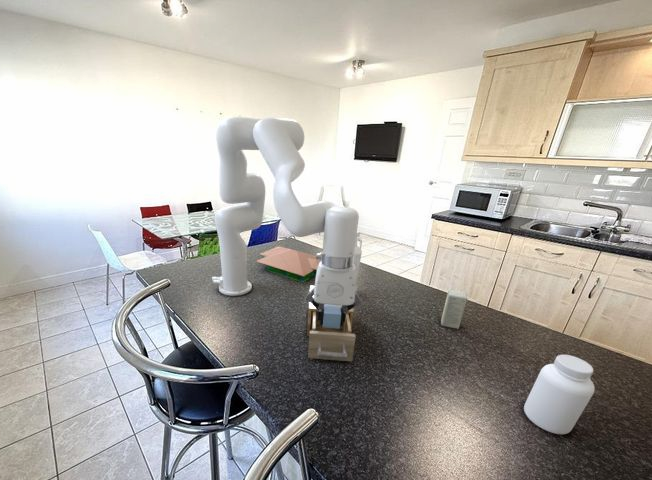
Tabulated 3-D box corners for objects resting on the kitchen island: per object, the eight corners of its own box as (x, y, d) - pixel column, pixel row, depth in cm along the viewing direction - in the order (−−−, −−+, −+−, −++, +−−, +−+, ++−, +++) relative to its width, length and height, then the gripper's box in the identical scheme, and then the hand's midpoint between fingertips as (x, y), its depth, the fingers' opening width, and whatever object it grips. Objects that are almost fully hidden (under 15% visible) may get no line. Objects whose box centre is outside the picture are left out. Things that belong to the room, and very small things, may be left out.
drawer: (354, 374, 72) (358, 348, 68) (307, 370, 73) (309, 345, 69) (347, 331, 88) (350, 308, 85) (309, 328, 89) (310, 306, 86)
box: (458, 322, 95) (467, 292, 91) (458, 329, 92) (468, 298, 87) (440, 318, 97) (448, 288, 92) (440, 325, 94) (448, 294, 89)
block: (322, 327, 77) (324, 313, 75) (322, 318, 81) (323, 304, 79) (339, 328, 77) (341, 314, 75) (338, 319, 81) (340, 305, 79)
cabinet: (350, 339, 86) (353, 311, 82) (306, 336, 87) (308, 308, 83) (345, 313, 99) (348, 287, 95) (308, 310, 100) (309, 285, 96)
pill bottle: (513, 404, 65) (538, 350, 59) (546, 402, 66) (574, 349, 60) (544, 437, 58) (577, 379, 52) (581, 434, 59) (617, 377, 53)
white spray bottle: (364, 294, 112) (373, 230, 101) (344, 304, 104) (352, 236, 94) (350, 287, 116) (357, 226, 106) (330, 297, 109) (336, 232, 99)
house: (309, 285, 118) (310, 266, 114) (248, 265, 135) (247, 248, 132) (335, 267, 135) (337, 251, 131) (278, 252, 152) (278, 237, 149)
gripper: (301, 263, 68) (298, 328, 76) (375, 267, 67) (364, 333, 75) (303, 252, 75) (300, 313, 83) (370, 256, 74) (360, 317, 82)
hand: (330, 322), depth 79 cm, fingers closed on block, 4 cm apart
